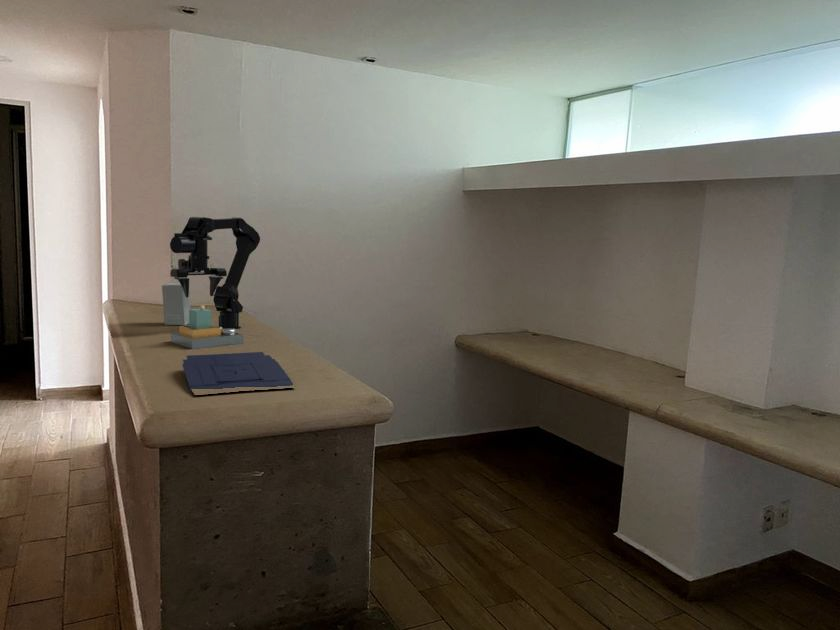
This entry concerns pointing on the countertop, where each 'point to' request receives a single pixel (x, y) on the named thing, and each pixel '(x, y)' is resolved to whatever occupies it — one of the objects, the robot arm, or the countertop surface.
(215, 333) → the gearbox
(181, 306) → the skincare box
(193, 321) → the spout can
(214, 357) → the dark blue book
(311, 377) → the countertop surface
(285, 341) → the countertop surface
